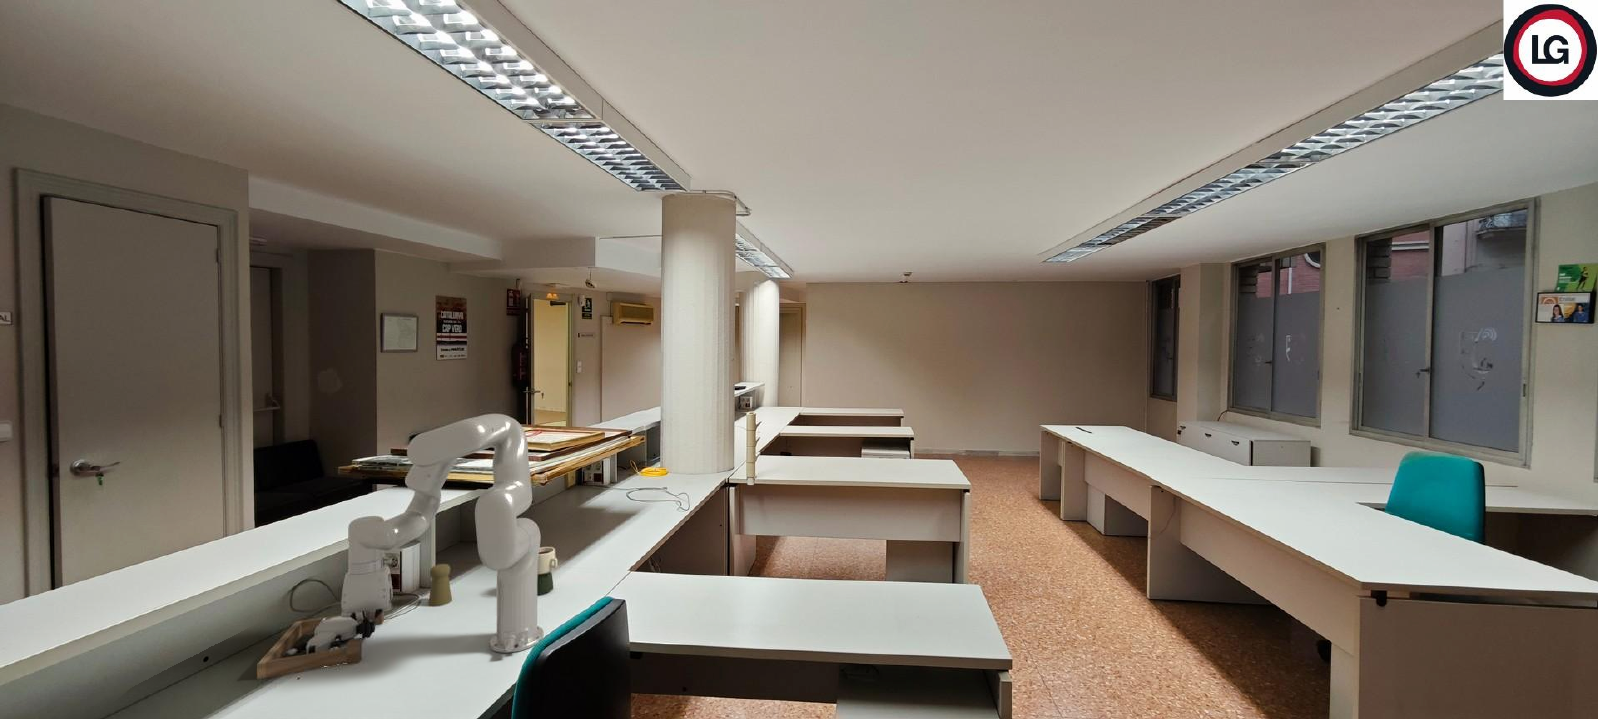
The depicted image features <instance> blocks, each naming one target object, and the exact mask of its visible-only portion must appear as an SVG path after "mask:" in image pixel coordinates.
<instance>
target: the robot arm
mask: <svg viewBox="0 0 1598 719" xmlns="http://www.w3.org/2000/svg"><path fill="white" fill-rule="evenodd" d="M527 437H528V436H527V433H526V432H525V429H524V427H523V426H522V425H521V424H520V422H519V421H517V419H515V418H513V417H511V416H509V415H506V414H502V413H490V414H489V413H488V414H482V415H479V416H473V417H470V418H466V419H465V418H464V419H462V420H459V421H456V422H453V423H450V424H447V425H445V426H441V427H439V428H436V429H432V430H428V431H425V432H421V433H419V434H417V435H416V436H415V437H414V438H412V439H411V440H410V442H409V444H408V446H407V450H406V456H407V459H408V461H410V463H411V464H412V466H411V468H410V470H409V472H408V473H407V475H406V476H405V477H404V478H405V479H404V482H405V485H406V486H407V487H408V489H409V490H411V491H413V492H414V493H413V496H412V498H411V501H410V503H409V505H408V506H407V508H406V509H405V511H404V512H403V513H400V514H398V515H395V516H394V517H391V518H389V519H384V518H383V517H382V516H379V515H370V516H369V515H368V516H362V517H358V518H355V519H353V520H351V521H350V523H348V526H347V528H348V529H347V530H348V531H347V539H348V542H349V547H348V546H347V547H348V548H347V551H348V553H347V554H348V555H347V556H348V558H347V559H348V561H347V562H348V563H347V564H348V568H347V570H348V571H347V572H346V573H345V576H344V579H343V585H342V590H341V591H342V592H341V602H340V604H341V605H340V606H341V614H340V615H341V617H344V618H352V619H354V620H356V621H357V623H358V624H359V634H358V635H361V638H362V640H363V639H366V638H367V639H369V638H370V639H371V637H372V634H374V633H375V631H376V625H375V619H376V618H377V617H378V616H379V615H380V614H381V613H384V614H385V613H386V612H389V611H391V610H392V609H393V604H392V599H393V585H392V584H393V583H392V576H391V570H390V567H389V566H388V565H390V564H392V558H391V557H390V558H389V557H386V555H385V552H386V551H387V552H388V551H393V550H396V549H397V548H400V547H402V546H403V545H405V544H407V543H409V542H411V541H413V540H415V539H416V538H420V536H422V535H423V534H424V533H425V532H426V531H427V530H428V528H429V527H430V525H431V523H432V522H433V520H434V518H435V517H436V515H437V513H438V511H439V509H440V505H441V502H442V501H441V499H442V491H441V490H442V487H443V486H444V484H445V482H446V480H447V479H448V476H449V475H450V473H451V472H452V470H453V467H454V466H455V465H456V463H457V461H458V459H459V458H462V457H465V456H468V455H471V454H474V453H478V452H481V451H484V450H486V449H489V448H493V449H494V454H493V457H492V458H493V459H492V465H491V466H492V475H493V478H492V479H493V485H492V486H491V487H489V488H488V489H486V490H484V491H483V492H482V493H481V494H480V496H479V497H478V498H477V501H476V504H475V509H474V519H475V520H474V521H475V529H476V530H475V532H476V540H477V541H476V542H477V544H476V545H477V551H478V555H479V558H480V561H481V562H482V565H484V566H485V567H486V568H487V569H489V570H491V571H494V572H495V571H496V633H495V634H494V635H493V636H492V637H491V638H490V640H489V647H490V649H491V650H492V651H494V652H497V653H502V654H504V653H508V654H511V653H517V652H521V651H524V650H527V649H529V648H532V647H533V646H536V645H537V644H538V643H537V641H540V640H541V639H542V640H543V638H544V629H543V628H542V627H540V626H539V625H538V594H537V571H538V555H539V548H541V539H542V538H541V531H540V528H539V526H538V524H537V523H536V522H535V521H534V520H532V519H530V518H527V517H519V518H517V517H518V516H520V515H521V514H523V513H524V512H526V511H527V510H529V508H530V506H532V502H533V491H532V489H533V488H532V479H531V470H530V469H531V468H530V462H529V461H530V460H529V446H528V445H529V444H528V438H527ZM348 542H347V543H348ZM365 611H370V615H369V619H368V618H367V617H366V614H365ZM542 640H541V641H542ZM541 641H540V642H541ZM536 643H537V644H536Z"/></svg>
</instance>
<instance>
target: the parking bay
mask: <svg viewBox="0 0 1598 719" xmlns="http://www.w3.org/2000/svg"><path fill="white" fill-rule="evenodd" d="M365 614H366V617H367V618H368V619H369V615H370V611H365ZM340 616H341V614H339V615H332V616H326V617H319V618H312V619H305V620H299V621H295V622H293V624H292V625H291V626H290V627H289V628H288V629H287V630H286V632H285V633H284V634H283V635H282V636H281V637H280V639H278V641H277V642H275V644H274V645H273V646H272V647H271V648H270V649H269V651H268V652H267V653H266V654H265V655H264V656H263V657H262V658H261V659H260V661H258V663H257V664H256V680H262V679H267V678H273V677H279V676H285V675H289V674H296V673H301V672H306V671H305V670H308V671H314V670H318V669H317V668H319V669H322V668H321V667H324V666H331V667H334V666H333V665H337V664H342V665H344V664H343V663H347V664H350V665H354V664H353V663H356V664H359V663H360V662H359V661H361V660H362V658H363V654H362V653H363V652H362V649H363V648H362V647H363V642H362V641H363V639H362V637H358V638H351V639H348V641H347V643H346V644H345V646H346V647H340V648H339V649H335V650H329V651H323V652H317V653H311V654H307V653H305V654H300V655H294V656H287V657H285V655H287V651H289V650H290V649H292V647H294V646H295V645H296V642H297V641H298V640H299V639H300V638H301V637H302V636H308V635H313V630H314V629H315V628H316V627H317V626H318V625H319V624H320V623H321V622H322V620H323V619H324V618H325V620H328V619H331V618H334V617H340ZM325 620H324V621H325ZM324 621H323V622H324ZM384 621H385V612H384V613H381V614H380V615H379V616H378V617H377V618H376V619H375V626H377V625H382V624H383V623H384ZM323 622H322V623H323ZM358 662H359V663H358ZM347 664H346V665H347ZM337 666H338V665H337ZM313 669H314V670H313Z"/></svg>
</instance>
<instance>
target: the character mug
mask: <svg viewBox="0 0 1598 719" xmlns="http://www.w3.org/2000/svg"><path fill="white" fill-rule="evenodd" d="M557 568H558V558H556V549H555V547H552V546H542V547H541V546H540V548H539V555H538V571H537V595H541V594H546V593H548V592H550V591H553V590H554V580H553V574H552V571H554V570H556V569H557Z"/></svg>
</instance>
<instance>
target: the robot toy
mask: <svg viewBox="0 0 1598 719" xmlns="http://www.w3.org/2000/svg"><path fill="white" fill-rule="evenodd" d="M323 618H324V617H323ZM324 620H325V618H324V619H323V620H322V622H323V621H324ZM322 622H321V623H320V624H319V625H318V626H317V627H316V628H315V629H314V630H313V634H312V635H313V636H312V638H310V639H309V640H308V641H301V642H300V643H298V644H294V645H293V648H290V650H289V651H287V653H286V655H295V654H300V653H302V652H304V651H306V654H311V653H317V652H323V651H329V650H335V649H341V644H342V643H341V642H342V641H347V640H351V639H354V638H355V637H357V636H358V635H360V634H359V624H358V623H357V621H356V620H354V619H352V618H344V617H341V616H340V617H334V618H331V619H328V620H325V621H324V622H323V623H322Z"/></svg>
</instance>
